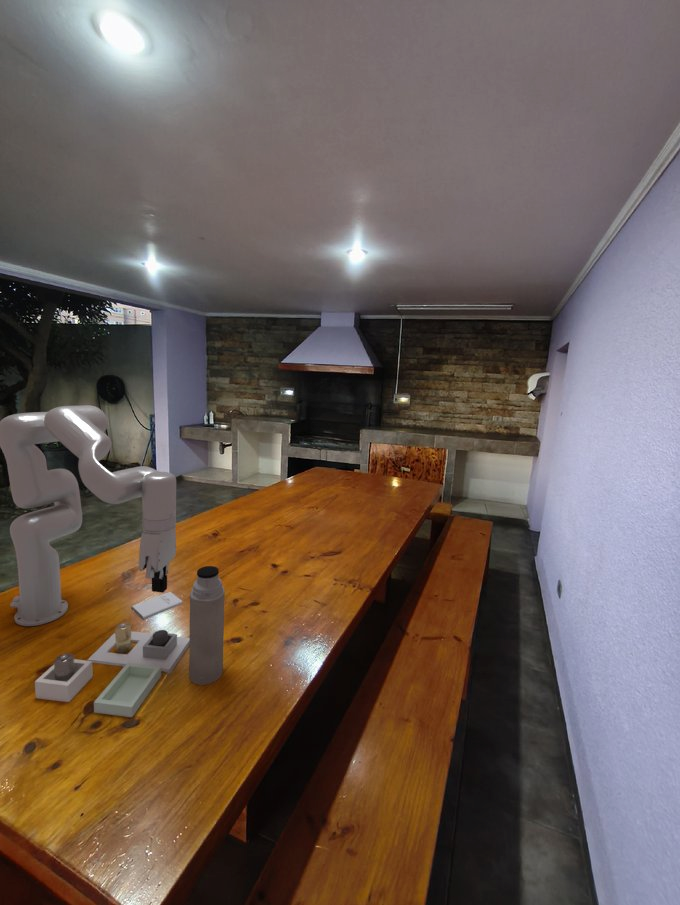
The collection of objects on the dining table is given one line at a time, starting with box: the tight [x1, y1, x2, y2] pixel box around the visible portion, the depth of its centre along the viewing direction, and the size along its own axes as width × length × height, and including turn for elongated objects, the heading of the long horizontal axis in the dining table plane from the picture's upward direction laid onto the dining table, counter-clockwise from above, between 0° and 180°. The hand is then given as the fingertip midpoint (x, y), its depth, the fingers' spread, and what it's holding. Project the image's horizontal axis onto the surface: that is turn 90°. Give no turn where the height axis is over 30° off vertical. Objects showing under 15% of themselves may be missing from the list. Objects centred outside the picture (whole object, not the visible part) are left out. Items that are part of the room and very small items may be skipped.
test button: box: [152, 629, 169, 647], centre depth 102 cm, size 4×4×4 cm
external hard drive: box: [130, 591, 183, 621], centre depth 124 cm, size 2×8×12 cm
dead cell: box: [53, 653, 75, 682], centre depth 89 cm, size 4×4×8 cm
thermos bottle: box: [188, 565, 226, 686], centre depth 96 cm, size 8×8×28 cm
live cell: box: [114, 622, 132, 654], centre depth 103 cm, size 4×4×8 cm
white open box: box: [34, 658, 94, 703], centre depth 89 cm, size 8×8×5 cm
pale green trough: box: [93, 663, 162, 718], centre depth 89 cm, size 8×12×3 cm
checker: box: [87, 630, 190, 676], centre depth 103 cm, size 21×12×4 cm, turn 86°
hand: (159, 590), depth 99 cm, fingers closed
